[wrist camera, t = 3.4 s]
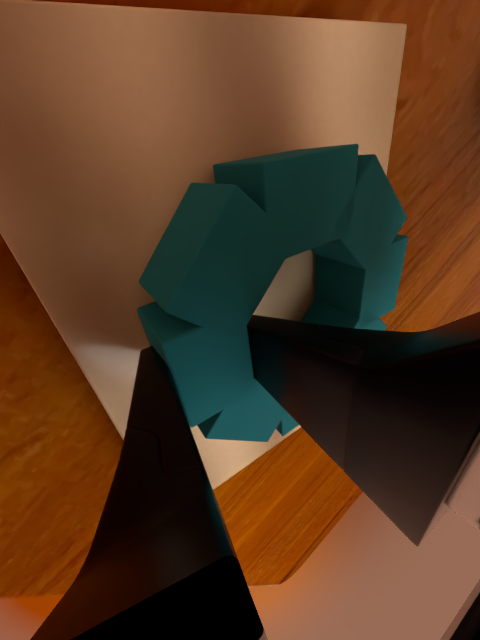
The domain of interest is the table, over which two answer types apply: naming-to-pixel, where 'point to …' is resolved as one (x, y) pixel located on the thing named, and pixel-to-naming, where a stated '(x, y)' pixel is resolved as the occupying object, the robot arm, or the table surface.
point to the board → (163, 154)
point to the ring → (267, 272)
